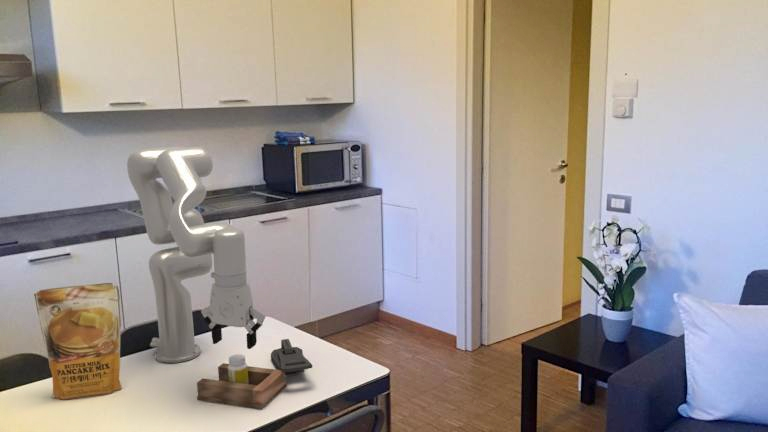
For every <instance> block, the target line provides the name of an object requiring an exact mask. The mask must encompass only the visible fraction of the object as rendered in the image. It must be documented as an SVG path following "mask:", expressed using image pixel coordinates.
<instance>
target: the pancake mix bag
mask: <svg viewBox="0 0 768 432" xmlns="http://www.w3.org/2000/svg"><path fill="white" fill-rule="evenodd" d="M113 284H114V283H113V282H104V283H96V284H95V283H93V284H87V285H72V286H63V287H62V286H60V287H53V288H47V289H41V290H39V291H37V292H35V293H33V296H34V300H35V305H36V310H37V315H38V318H39V322H40V323H39V324H40V330H41V334H42V338H43V342H44V348H45V350H46V353H47V359H48V365H49V369H50V373H51V377H52V378H51V379H52V396H51V398H52V399H60V400H73V399H84V398H89V397H98V396H107V395H111V394H114V393H115V392H116V391H118V390H122V389H123V387H122V384H121V380H120V373H121V372H120V369H121V337H122V336H121V335H122V334H121V326H122V319H121V307H120V306H121V305H120V298H121V297H120V290H119V287H118V285H113Z"/></svg>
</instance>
